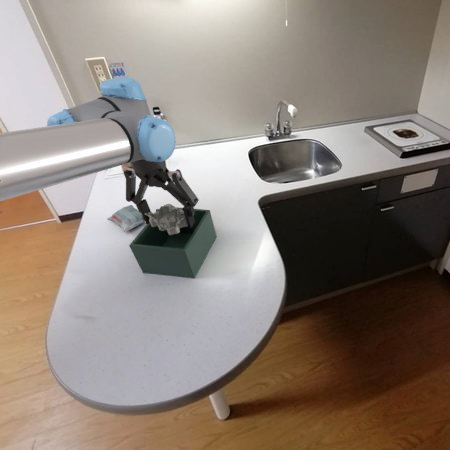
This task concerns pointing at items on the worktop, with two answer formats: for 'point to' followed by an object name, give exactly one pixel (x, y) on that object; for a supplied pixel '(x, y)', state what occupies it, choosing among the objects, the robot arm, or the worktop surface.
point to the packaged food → (127, 218)
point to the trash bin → (175, 247)
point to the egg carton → (168, 219)
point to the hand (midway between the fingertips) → (170, 222)
